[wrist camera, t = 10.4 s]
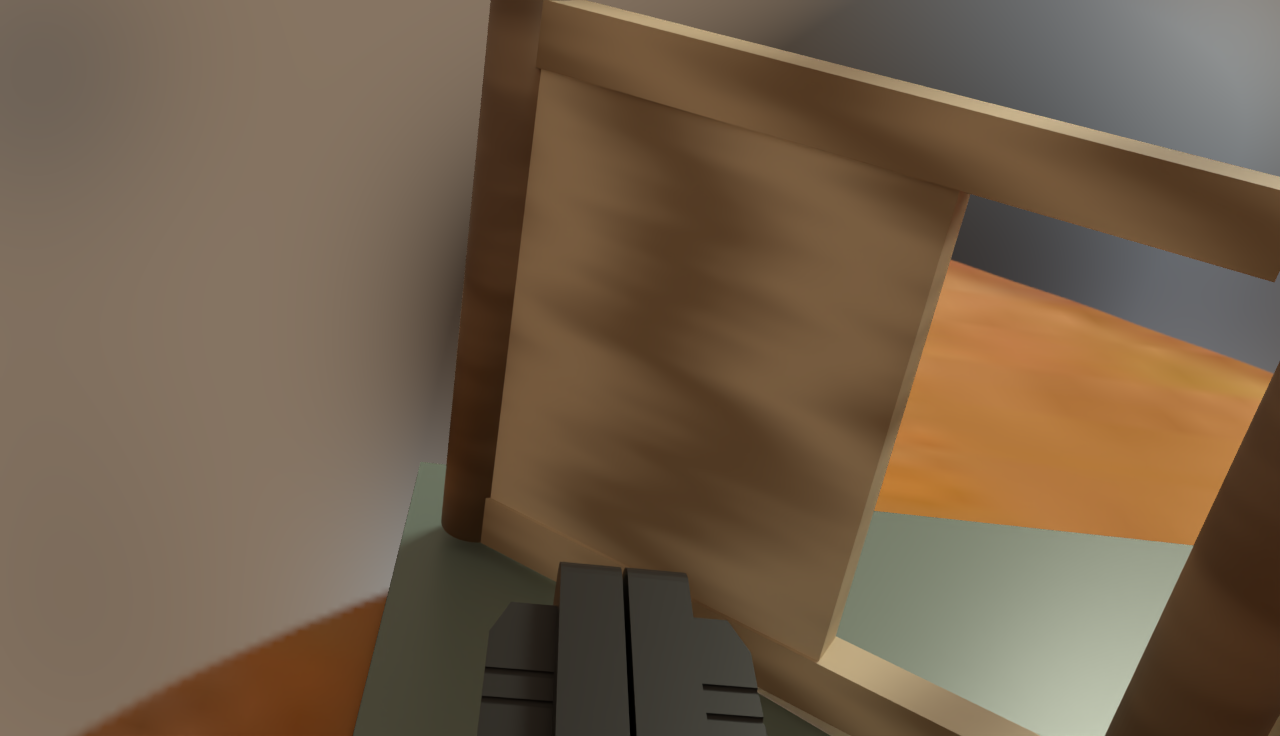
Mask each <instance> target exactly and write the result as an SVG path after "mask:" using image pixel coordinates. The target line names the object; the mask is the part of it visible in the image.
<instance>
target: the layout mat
mask: <svg viewBox="0 0 1280 736" xmlns="http://www.w3.org/2000/svg"><path fill="white" fill-rule="evenodd" d="M445 475H446V465H443V464H434V463H424V462H421V463H420V467H419V471H418V475H417V479H416V483H415V487H414V491H413V495H412V499H411V503H410V507H409V511H408V515H407V519H406V523H405V527H404V531H403V536H402V539H401V543H400V548H399V551H398V555H397V559H396V564H395V568H394V572H393V576H392V580H391V584H390V588H389V592H388V596H387V600H386V604H385V608H384V612H383V616H382V620H381V624H380V628H379V632H378V636H377V640H376V644H375V648H374V652H373V656H372V660H371V664H370V668H369V672H368V676H367V680H366V685H365V689H364V693H363V697H362V701H361V705H360V709H359V713H358V717H357V721H356V725H355V729H354V733H353V736H477V730H478V722H479V713H480V705H481V696H482V688H483V679H484V671H485V662H486V654H487V645H488V637H489V631H490V629H491V628H492V627H493V625H494V624H495V623H496V621H497V620H498V619H499V617H500V616H501V615H502V613H503V612H504V611H505V609H506V608H507V607H508V605H509V604H510V603H511V602H520V603H531V604H543V605H553V602H554V595H555V588H556V582H555V581H553V580H551V579H549V578H548V577H546V576H544V575H542V574H540V573H538V572H536V571H534V570H532V569H530V568H528V567H526V566H525V565H523V564H521V563H519V562H517V561H515V560H513V559H511V558H509V557H507V556H505V555H504V554H502V553H500V552H498V551H496V550H494V549H492V548H490V547H488V546H486V545H484V544H482V543H474V542H467V541H462V540H459V539H457V538H454V537H453V536H451V535H449V534H448V533H447V532H446V531H445V530H444V529H443V527H442V524H441V517H442V506H443V496H444V485H445ZM1192 548H1193V545H1184V544H1174V543H1165V542H1156V541H1147V540H1137V539H1128V538H1119V537H1110V536H1100V535H1091V534H1082V533H1073V532H1063V531H1054V530H1045V529H1036V528H1026V527H1017V526H1008V525H999V524H989V523H980V522H971V521H962V520H952V519H943V518H934V517H925V516H915V515H906V514H897V513H888V512H878V511H874V512H873V515H872V518H871V522H870V525H869V528H868V532H867V535H866V538H865V541H864V545H863V548H862V551H861V555H860V558H859V561H858V564H857V568H856V571H855V574H854V578H853V581H852V584H851V587H850V591H849V594H848V597H847V601H846V604H845V607H844V610H843V614H842V617H841V620H840V624H839V627H838V630H837V633H836V637H838V638H840V639H843V640H845V641H847V642H849V643H851V644H853V645H855V646H857V647H859V648H861V649H863V650H865V651H867V652H869V653H871V654H873V655H876V656H878V657H880V658H882V659H884V660H886V661H888V662H890V663H892V664H894V665H896V666H898V667H900V668H902V669H904V670H906V671H909V672H911V673H913V674H915V675H917V676H919V677H921V678H923V679H925V680H927V681H929V682H931V683H933V684H935V685H937V686H939V687H942V688H944V689H946V690H948V691H950V692H952V693H954V694H956V695H958V696H960V697H962V698H964V699H966V700H968V701H970V702H972V703H974V704H977V705H979V706H981V707H983V708H985V709H987V710H989V711H991V712H993V713H995V714H997V715H999V716H1001V717H1003V718H1005V719H1007V720H1010V721H1012V722H1014V723H1016V724H1018V725H1020V726H1022V727H1024V728H1026V729H1028V730H1030V731H1032V732H1034V733H1036V734H1038V735H1040V736H1105V734H1106V732H1107V730H1108V728H1109V726H1110V723H1111V721H1112V719H1113V717H1114V715H1115V713H1116V711H1117V709H1118V706H1119V704H1120V702H1121V700H1122V698H1123V696H1124V694H1125V691H1126V689H1127V687H1128V685H1129V683H1130V681H1131V679H1132V676H1133V674H1134V672H1135V670H1136V668H1137V666H1138V664H1139V661H1140V659H1141V657H1142V655H1143V653H1144V651H1145V649H1146V646H1147V644H1148V642H1149V640H1150V638H1151V636H1152V634H1153V632H1154V629H1155V627H1156V625H1157V623H1158V621H1159V619H1160V617H1161V614H1162V612H1163V610H1164V608H1165V606H1166V604H1167V602H1168V599H1169V597H1170V595H1171V593H1172V591H1173V589H1174V587H1175V584H1176V582H1177V580H1178V578H1179V576H1180V574H1181V572H1182V569H1183V567H1184V565H1185V563H1186V561H1187V559H1188V557H1189V555H1190V552H1191V550H1192ZM757 695H759V697H760V702H761V707H762V712H763V725H765V727H766V732H767V736H850V735H848V734H846V733H845V732H843V731H841V730H839V729H837V728H835V727H833V726H831V725H829V724H827V723H825V722H823V721H822V720H820V719H818V718H816V717H814V716H812V715H810V714H808V713H806V712H804V711H802V710H800V709H799V708H797V707H795V706H793V705H791V704H789V703H787V702H785V701H783V700H781V699H779V698H777V697H776V696H774V695H772V694H770V693H768V692H766V691H764V690H762V689H760V688H758V690H757Z"/></svg>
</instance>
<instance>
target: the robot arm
mask: <svg viewBox="0 0 1280 736" xmlns="http://www.w3.org/2000/svg"><path fill="white" fill-rule="evenodd" d="M757 690H758V687H757V682H756V676H755V671H754V666H753V661H752V656H751V652H750V651H749V649H748V648H747V647H746V645H745V644H744V643H743V641H742V640H741V638H740V637H739V636H738V634H737V633H736V632H735V630H734V629H733V627H732V626H731V625H730V623H729V622H728V621H727V620H718V619H706V618H695V617H693V611H692V603H691V596H690V588H689V581H688V577H687V574H686V573H683V572H672V571H661V570H650V569H639V568H628V567H625V568H624V571H623V574H622V569H621V567H614V566H603V565H593V564H582V563H571V562H560V563H559V568H558V574H557V581H556V588H555V595H554V602H553V605H543V604H531V603H520V602H511V603H510V604H509V605H508V607H507V608H506V609H505V611H504V612H503V613H502V615H501V616H500V617H499V619H498V620H497V621H496V623H495V624H494V625H493V627H492V628H491V629H490V631H489V637H488V645H487V654H486V662H485V671H484V679H483V688H482V696H481V705H480V713H479V722H478V730H477V736H767V732H766V727H765V725H763V712H762V707H761V702H760V697H759V695H757Z"/></svg>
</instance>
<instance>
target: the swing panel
mask: <svg viewBox="0 0 1280 736" xmlns="http://www.w3.org/2000/svg"><path fill="white" fill-rule="evenodd" d="M970 194H973V195H977V196H980V197H983V198H987V199H990V200H994V201H997V202H1001V203H1004V204H1007V205H1011V206H1014V207H1018V208H1021V209H1024V210H1028V211H1031V212H1035V213H1038V214H1041V215H1045V216H1048V217H1052V218H1055V219H1059V220H1062V221H1066V222H1069V223H1072V224H1076V225H1079V226H1083V227H1086V228H1090V229H1093V230H1096V231H1100V232H1103V233H1107V234H1110V235H1114V236H1117V237H1121V238H1124V239H1127V240H1131V241H1134V242H1138V243H1141V244H1145V245H1148V246H1151V247H1155V248H1158V249H1162V250H1165V251H1169V252H1172V253H1176V254H1179V255H1182V256H1186V257H1189V258H1193V259H1196V260H1200V261H1203V262H1207V263H1210V264H1213V265H1217V266H1220V267H1223V268H1227V269H1231V270H1234V271H1237V272H1241V273H1244V274H1248V275H1251V276H1255V277H1258V278H1261V279H1265V280H1268V281H1272V282H1275V279H1276V278H1277V275H1278V273H1279V271H1280V177H1278V176H1274V175H1270V174H1266V173H1262V172H1258V171H1254V170H1250V169H1246V168H1243V167H1238V166H1235V165H1231V164H1227V163H1223V162H1219V161H1215V160H1211V159H1207V158H1203V157H1199V156H1195V155H1191V154H1188V153H1184V152H1180V151H1176V150H1172V149H1167V148H1164V147H1160V146H1156V145H1152V144H1148V143H1144V142H1140V141H1136V140H1133V139H1129V138H1125V137H1121V136H1117V135H1113V134H1109V133H1105V132H1101V131H1097V130H1093V129H1089V128H1085V127H1082V126H1077V125H1073V124H1070V123H1066V122H1062V121H1058V120H1054V119H1050V118H1046V117H1042V116H1038V115H1034V114H1030V113H1027V112H1023V111H1018V110H1014V109H1011V108H1007V107H1003V106H999V105H995V104H991V103H987V102H983V101H979V100H975V99H971V98H968V97H964V96H960V95H956V94H951V93H948V92H944V91H940V90H936V89H932V88H928V87H924V86H920V85H917V84H913V83H909V82H905V81H901V80H897V79H893V78H889V77H885V76H881V75H877V74H873V73H869V72H865V71H862V70H858V69H854V68H850V67H846V66H841V65H838V64H834V63H830V62H826V61H822V60H818V59H814V58H811V57H807V56H803V55H798V54H795V53H791V52H787V51H783V50H779V49H775V48H771V47H767V46H763V45H760V44H755V43H751V42H748V41H744V40H739V39H736V38H732V37H728V36H724V35H720V34H716V33H712V32H708V31H704V30H701V29H696V28H692V27H689V26H685V25H681V24H677V23H673V22H669V21H665V20H661V19H657V18H653V17H649V16H646V15H642V14H638V13H634V12H630V11H626V10H622V9H618V8H614V7H610V6H606V5H602V4H599V3H594V2H590V1H587V0H491V3H490V15H489V24H488V36H487V46H486V56H485V66H484V77H483V87H482V98H481V109H480V118H479V129H478V140H477V151H476V160H475V171H474V182H473V192H472V202H471V213H470V224H469V234H468V245H467V255H466V265H465V276H464V287H463V298H462V307H461V318H460V328H459V339H458V349H457V360H456V371H455V381H454V391H453V402H452V412H451V422H450V433H449V443H448V455H447V464H446V475H445V485H444V496H443V506H442V517H441V524H442V527H443V529H444V530H445V531H446V532H447V533H448V534H449V535H451V536H453V537H454V538H457V539H459V540H462V541H467V542H474V543H482V544H484V545H486V546H488V547H490V548H492V549H494V550H496V551H498V552H500V553H502V554H504V555H505V556H507V557H509V558H511V559H513V560H515V561H517V562H519V563H521V564H523V565H525V566H526V567H528V568H530V569H532V570H534V571H536V572H538V573H540V574H542V575H544V576H546V577H548V578H549V579H551V580H553V581H555V582H556V581H557V574H558V568H559V563H560V562H571V563H582V564H593V565H603V566H614V567H621V569H622V574H623V571H624V568H625V567H628V568H639V569H650V570H661V571H672V572H683V573H686V574H687V577H688V581H689V588H690V596H691V603H692V611H693V617H695V618H706V619H718V620H727V621H728V622H729V623H730V625H731V626H732V627H733V629H734V630H735V632H736V633H737V634H738V636H739V637H740V638H741V640H742V641H743V643H744V644H745V645H746V647H747V648H748V649H749V651H750V652H751V656H752V661H753V666H754V671H755V676H756V682H757V687H758V688H760V689H762V690H764V691H766V692H768V693H770V694H772V695H774V696H776V697H777V698H779V699H781V700H783V701H785V702H787V703H789V704H791V705H793V706H795V707H797V708H799V709H800V710H802V711H804V712H806V713H808V714H810V715H812V716H814V717H816V718H818V719H820V720H822V721H823V722H825V723H827V724H829V725H831V726H833V727H835V728H837V729H839V730H841V731H843V732H845V733H846V734H848V735H850V736H1040V735H1038V734H1036V733H1034V732H1032V731H1030V730H1028V729H1026V728H1024V727H1022V726H1020V725H1018V724H1016V723H1014V722H1012V721H1010V720H1007V719H1005V718H1003V717H1001V716H999V715H997V714H995V713H993V712H991V711H989V710H987V709H985V708H983V707H981V706H979V705H977V704H974V703H972V702H970V701H968V700H966V699H964V698H962V697H960V696H958V695H956V694H954V693H952V692H950V691H948V690H946V689H944V688H942V687H939V686H937V685H935V684H933V683H931V682H929V681H927V680H925V679H923V678H921V677H919V676H917V675H915V674H913V673H911V672H909V671H906V670H904V669H902V668H900V667H898V666H896V665H894V664H892V663H890V662H888V661H886V660H884V659H882V658H880V657H878V656H876V655H873V654H871V653H869V652H867V651H865V650H863V649H861V648H859V647H857V646H855V645H853V644H851V643H849V642H847V641H845V640H843V639H840V638H838V637H836V633H837V630H838V627H839V624H840V620H841V617H842V614H843V610H844V607H845V604H846V601H847V597H848V594H849V591H850V587H851V584H852V581H853V578H854V574H855V571H856V568H857V564H858V561H859V558H860V555H861V551H862V548H863V545H864V541H865V538H866V535H867V532H868V528H869V525H870V522H871V518H872V515H873V512H874V509H875V505H876V502H877V499H878V496H879V492H880V489H881V486H882V482H883V479H884V476H885V473H886V469H887V466H888V463H889V459H890V456H891V453H892V450H893V446H894V443H895V440H896V436H897V433H898V430H899V427H900V423H901V420H902V417H903V413H904V410H905V407H906V404H907V400H908V397H909V394H910V390H911V387H912V384H913V381H914V377H915V374H916V371H917V367H918V364H919V361H920V358H921V354H922V351H923V348H924V345H925V341H926V338H927V335H928V331H929V328H930V325H931V322H932V318H933V315H934V312H935V308H936V305H937V302H938V299H939V295H940V292H941V289H942V285H943V282H944V279H945V276H946V272H947V269H948V266H949V262H950V259H951V256H952V253H953V249H954V246H955V243H956V239H957V236H958V233H959V229H960V226H961V223H962V220H963V217H964V213H965V210H966V207H967V203H968V200H969V197H970Z"/></svg>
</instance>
